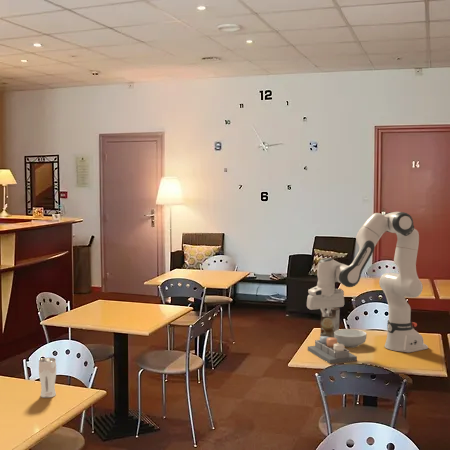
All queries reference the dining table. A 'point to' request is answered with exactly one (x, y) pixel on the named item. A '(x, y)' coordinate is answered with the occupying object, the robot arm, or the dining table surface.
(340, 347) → the key ivory
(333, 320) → the coffee box
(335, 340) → the key terracotta
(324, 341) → the key slate
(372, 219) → the robot arm
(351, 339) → the cereal bowl
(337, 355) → the grey slotted rack
